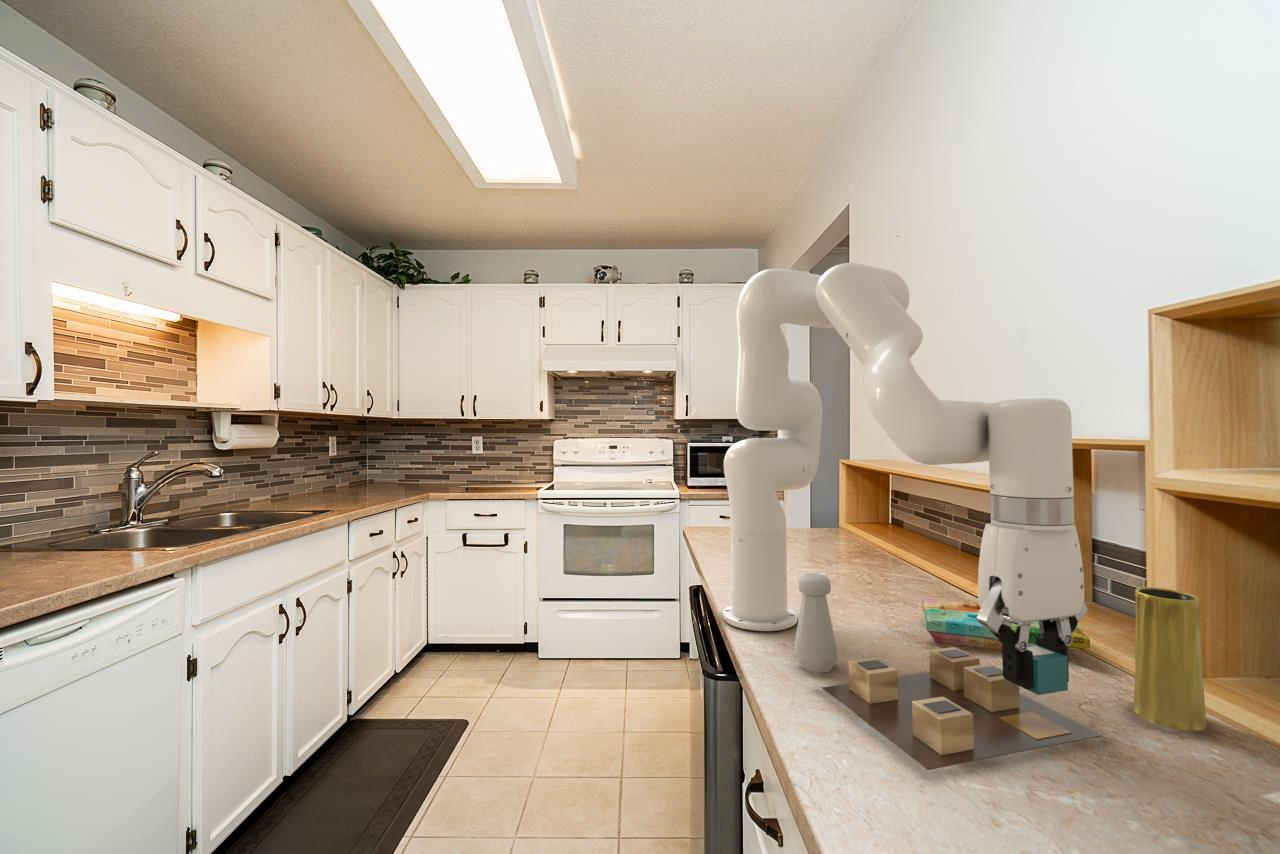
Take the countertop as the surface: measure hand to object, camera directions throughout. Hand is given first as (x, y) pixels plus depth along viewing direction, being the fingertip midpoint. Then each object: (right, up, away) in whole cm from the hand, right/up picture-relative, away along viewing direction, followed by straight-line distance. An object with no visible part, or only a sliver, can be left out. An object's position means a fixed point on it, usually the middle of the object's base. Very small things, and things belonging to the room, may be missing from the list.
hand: (1035, 679), depth 61 cm
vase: (+16, -6, +2) cm, 17 cm away
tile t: (-1, -5, +5) cm, 8 cm away
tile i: (-3, -5, +11) cm, 12 cm away
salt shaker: (-19, -6, +16) cm, 26 cm away
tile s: (0, -1, 0) cm, 1 cm away
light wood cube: (-14, -5, +8) cm, 17 cm away
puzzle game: (+12, -6, +25) cm, 29 cm away
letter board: (-7, -6, +4) cm, 10 cm away
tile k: (-12, -5, -3) cm, 13 cm away
